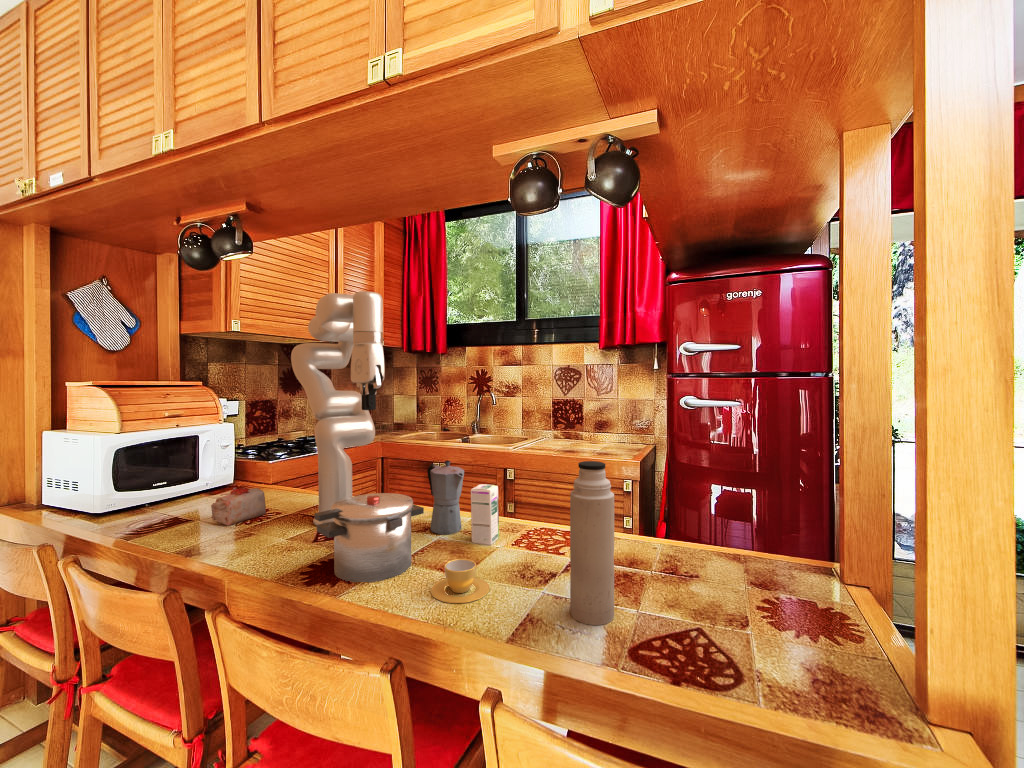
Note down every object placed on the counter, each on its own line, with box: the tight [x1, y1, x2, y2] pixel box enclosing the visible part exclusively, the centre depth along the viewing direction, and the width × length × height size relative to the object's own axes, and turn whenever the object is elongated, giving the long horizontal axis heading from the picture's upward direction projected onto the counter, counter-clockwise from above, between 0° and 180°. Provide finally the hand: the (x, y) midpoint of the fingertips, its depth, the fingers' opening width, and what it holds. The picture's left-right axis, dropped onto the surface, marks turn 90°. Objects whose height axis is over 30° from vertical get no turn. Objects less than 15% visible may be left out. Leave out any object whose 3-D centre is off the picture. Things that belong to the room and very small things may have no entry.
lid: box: [314, 492, 414, 522], centre depth 105 cm, size 18×22×3 cm
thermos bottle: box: [569, 460, 615, 626], centre depth 85 cm, size 8×8×28 cm
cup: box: [430, 558, 490, 604], centre depth 95 cm, size 12×12×5 cm
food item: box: [210, 487, 267, 527], centre depth 141 cm, size 14×8×10 cm, turn 157°
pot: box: [316, 503, 425, 583], centre depth 106 cm, size 18×24×13 cm
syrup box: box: [470, 483, 500, 546], centre depth 123 cm, size 6×6×14 cm
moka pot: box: [426, 460, 465, 535], centre depth 131 cm, size 10×15×20 cm, turn 53°
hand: (368, 409), depth 121 cm, fingers closed
